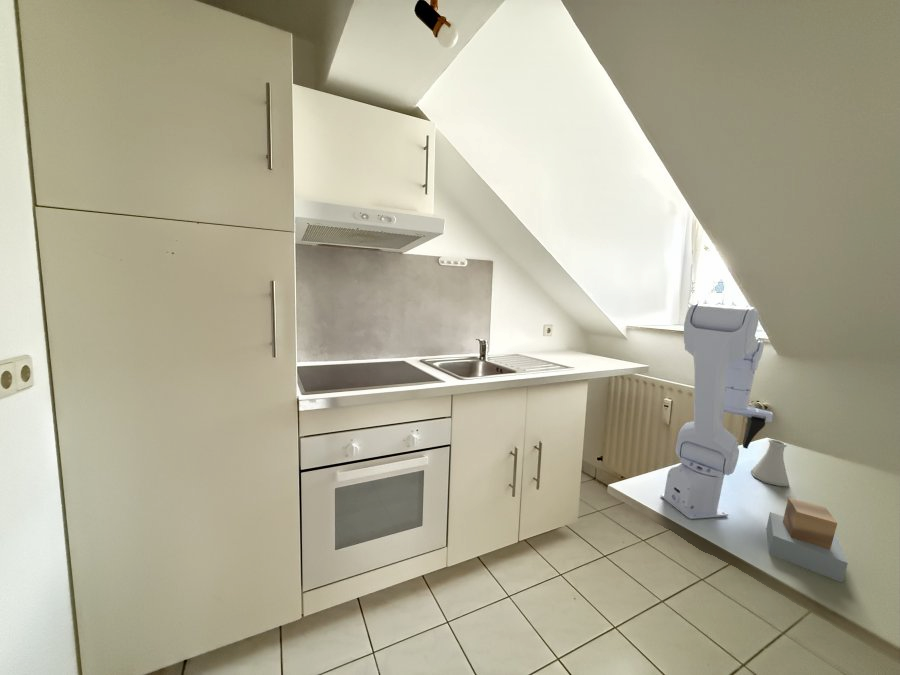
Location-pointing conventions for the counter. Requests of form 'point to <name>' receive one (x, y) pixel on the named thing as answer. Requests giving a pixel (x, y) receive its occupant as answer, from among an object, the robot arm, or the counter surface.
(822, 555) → the slate block
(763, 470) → the flask
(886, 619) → the counter surface
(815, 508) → the walnut cube
